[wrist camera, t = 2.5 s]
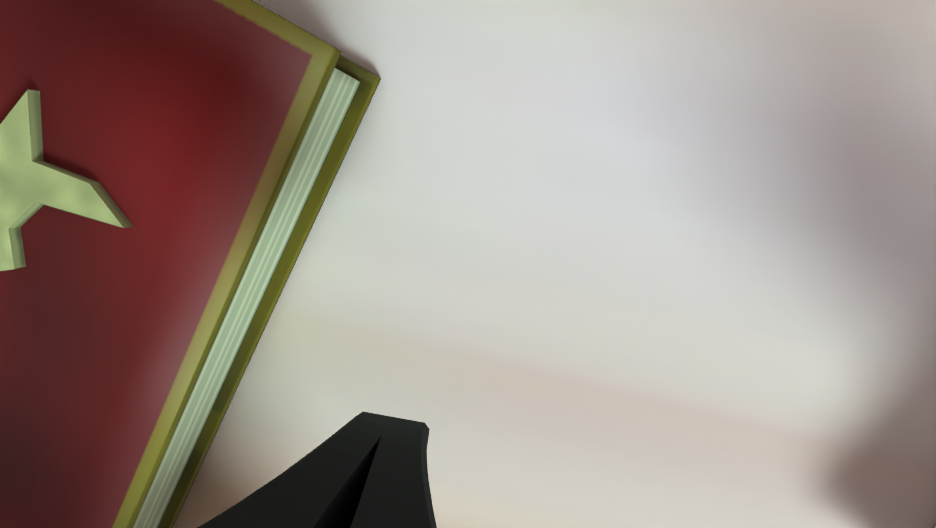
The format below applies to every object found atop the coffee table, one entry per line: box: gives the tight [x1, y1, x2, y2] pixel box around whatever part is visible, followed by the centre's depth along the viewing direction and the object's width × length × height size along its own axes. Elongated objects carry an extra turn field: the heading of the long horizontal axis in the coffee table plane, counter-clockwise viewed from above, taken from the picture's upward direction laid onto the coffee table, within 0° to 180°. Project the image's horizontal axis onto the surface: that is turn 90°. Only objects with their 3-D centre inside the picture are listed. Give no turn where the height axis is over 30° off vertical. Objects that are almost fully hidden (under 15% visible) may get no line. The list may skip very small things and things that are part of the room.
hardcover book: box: [0, 0, 381, 528], centre depth 14 cm, size 12×21×4 cm, turn 151°
